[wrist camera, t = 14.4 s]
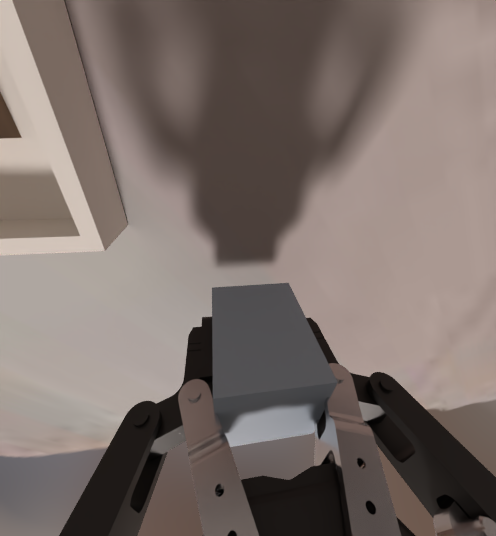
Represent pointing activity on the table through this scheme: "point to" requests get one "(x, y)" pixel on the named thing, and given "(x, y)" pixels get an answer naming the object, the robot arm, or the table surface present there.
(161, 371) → the table surface
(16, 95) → the tray
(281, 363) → the slate block
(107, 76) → the table surface
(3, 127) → the walnut block
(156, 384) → the table surface
